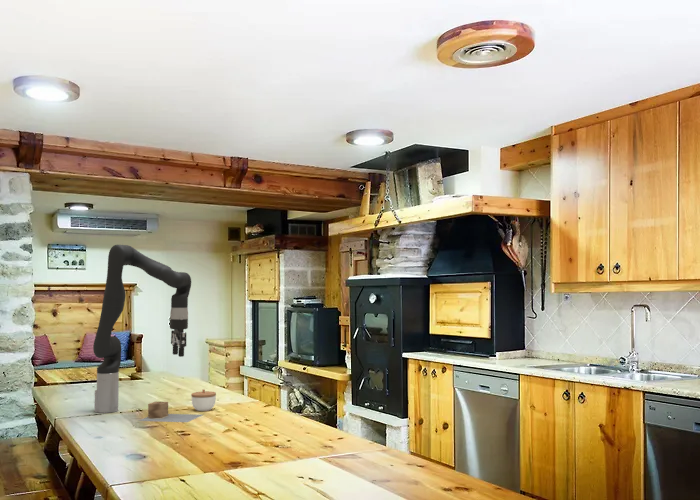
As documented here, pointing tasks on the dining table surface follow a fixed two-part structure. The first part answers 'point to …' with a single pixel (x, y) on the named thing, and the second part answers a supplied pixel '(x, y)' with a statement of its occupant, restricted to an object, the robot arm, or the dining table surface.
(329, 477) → the dining table surface
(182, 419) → the mat
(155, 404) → the walnut cube
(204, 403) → the lidded jar
